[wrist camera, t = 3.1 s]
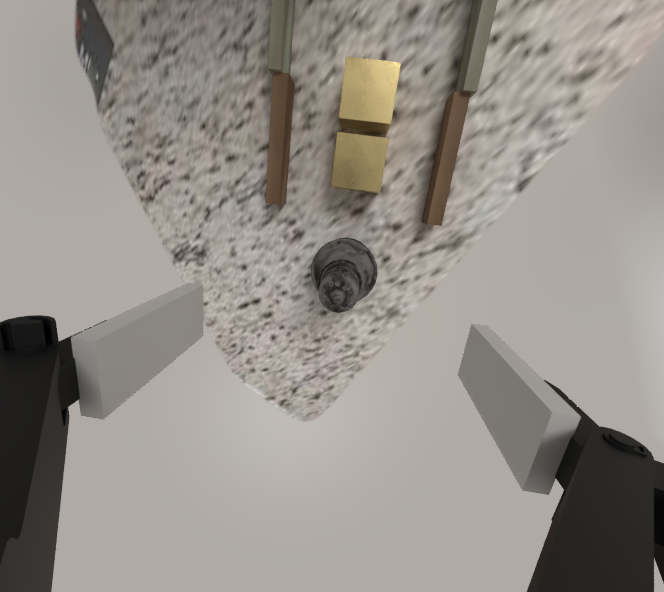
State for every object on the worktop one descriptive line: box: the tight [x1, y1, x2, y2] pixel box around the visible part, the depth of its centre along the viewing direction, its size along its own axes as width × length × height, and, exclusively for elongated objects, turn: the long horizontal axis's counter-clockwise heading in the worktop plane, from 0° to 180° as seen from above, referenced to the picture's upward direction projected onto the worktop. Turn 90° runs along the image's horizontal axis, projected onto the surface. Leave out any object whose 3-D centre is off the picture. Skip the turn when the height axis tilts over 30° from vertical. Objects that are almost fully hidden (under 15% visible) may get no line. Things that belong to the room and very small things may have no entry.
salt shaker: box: [311, 238, 377, 313], centre depth 26 cm, size 6×6×12 cm
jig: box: [266, 0, 497, 226], centre depth 25 cm, size 16×25×3 cm, turn 173°
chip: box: [339, 57, 401, 134], centre depth 25 cm, size 4×4×4 cm
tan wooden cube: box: [331, 132, 389, 194], centre depth 27 cm, size 4×4×4 cm
